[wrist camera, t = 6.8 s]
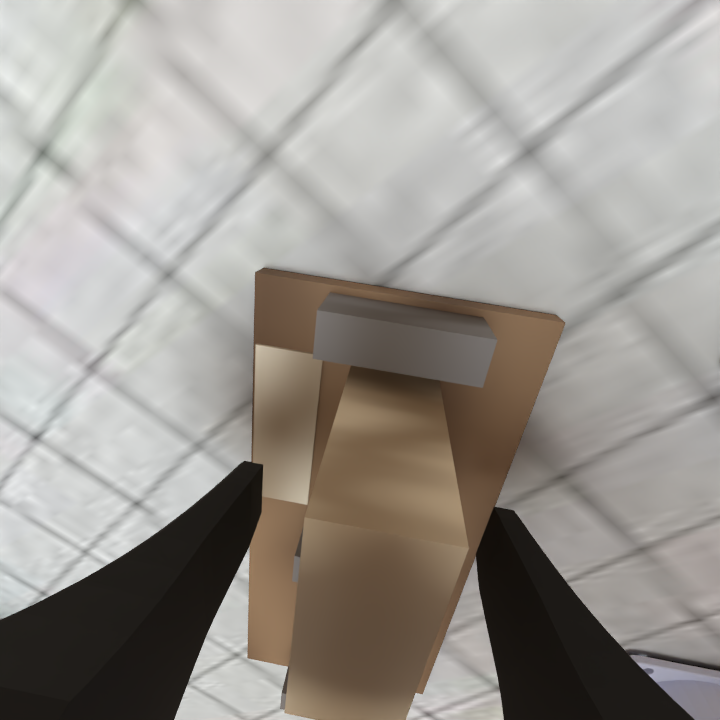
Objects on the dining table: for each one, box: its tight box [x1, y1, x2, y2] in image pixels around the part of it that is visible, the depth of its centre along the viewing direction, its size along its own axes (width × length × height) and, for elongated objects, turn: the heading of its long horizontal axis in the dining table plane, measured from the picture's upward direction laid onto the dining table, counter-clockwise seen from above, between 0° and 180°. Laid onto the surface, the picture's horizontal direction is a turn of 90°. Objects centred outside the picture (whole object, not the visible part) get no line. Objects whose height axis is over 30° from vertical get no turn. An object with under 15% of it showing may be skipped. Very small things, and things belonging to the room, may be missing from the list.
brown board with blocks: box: [248, 268, 565, 709], centre depth 16 cm, size 10×22×3 cm, turn 172°
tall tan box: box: [285, 365, 469, 720], centre depth 12 cm, size 3×7×7 cm, turn 172°
